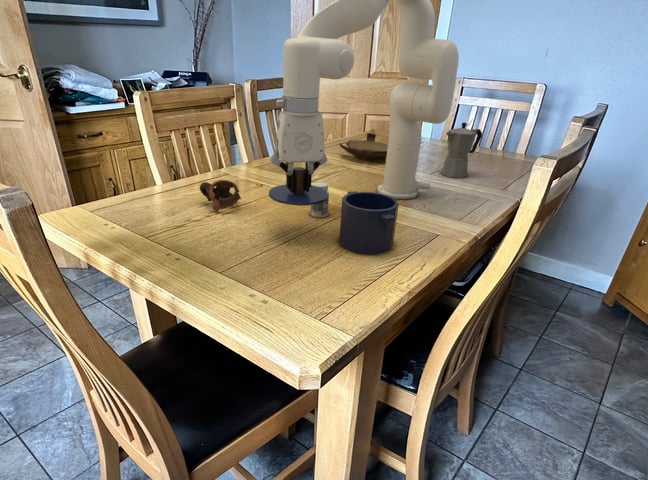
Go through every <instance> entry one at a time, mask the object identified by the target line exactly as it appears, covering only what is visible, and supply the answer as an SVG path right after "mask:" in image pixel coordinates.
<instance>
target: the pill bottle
mask: <svg viewBox="0 0 648 480" xmlns="http://www.w3.org/2000/svg"><path fill="white" fill-rule="evenodd" d="M312 186H316V187H319V188H322V189H324V190H325V191H327V193H328V198H327V200H325V201H324V202H322V203H318V204H314V205H310V215H311V216H312V217H315V218H326V217H327V216H328V214H329V199H330V192H329V191H328V190H329V184H328V183H327V182H322V181H321V182H320V181H319V182H313V184H312Z"/></svg>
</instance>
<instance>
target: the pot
mask: <svg viewBox="0 0 648 480" xmlns="http://www.w3.org/2000/svg"><path fill="white" fill-rule="evenodd" d="M346 193H347V194H345V195H344V196H342V198H341V209H340V223H339V235H338V239H339V240H338V241H339V242H338V243H339V244H340V246H341V247H342V248H343V249H344V250H346V251H349V252H351V253H353V254H359V255H364V256H375V255H382V254H385V253H388V252H389V251H391V250H392V249H393V245H394V242H395V241H394V240H395V233H396V227H397V220H398V213H399V208H400V207H399V205H400V204H399V201H398V199H396V198H393V197H391V196H388V195H384V194H381V193H378V192H374V191H358V190H353V191H347V192H346Z"/></svg>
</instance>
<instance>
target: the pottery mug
mask: <svg viewBox="0 0 648 480" xmlns="http://www.w3.org/2000/svg"><path fill="white" fill-rule="evenodd" d="M231 189H234V193H232V192H230V191H231ZM199 191H200V193H201V194H202V195H203V196H204V197H205V198H207V201H208V203H211V202H212V207H211V208H212V210H213V211H214V212H217V213H218V212H219V211H220V210H223V209H226V208H231V207H233V206H234V204H237V203H238V201H239V200H242V197H241V195H240V190H239V188H238V185H237V184H236V183H234V182H233V181H230V180H229V179H218V180H216V181H214V182H212V183H210V182H202V183H201V184H200V185H199Z"/></svg>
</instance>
